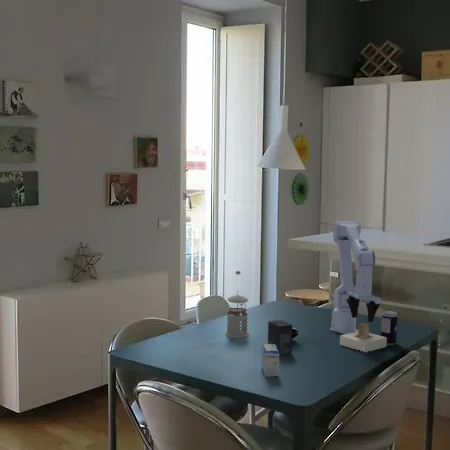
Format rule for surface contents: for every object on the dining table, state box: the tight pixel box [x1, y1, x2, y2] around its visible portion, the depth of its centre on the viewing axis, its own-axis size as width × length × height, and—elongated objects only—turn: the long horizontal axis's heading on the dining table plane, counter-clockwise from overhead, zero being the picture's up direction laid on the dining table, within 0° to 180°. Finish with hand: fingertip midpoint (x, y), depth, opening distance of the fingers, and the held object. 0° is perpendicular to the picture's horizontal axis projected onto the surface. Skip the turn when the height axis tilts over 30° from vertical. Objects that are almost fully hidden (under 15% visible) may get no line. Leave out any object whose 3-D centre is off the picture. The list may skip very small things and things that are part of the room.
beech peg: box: [357, 322, 370, 339], centre depth 259 cm, size 4×4×8 cm
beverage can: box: [380, 310, 399, 346], centre depth 262 cm, size 6×6×12 cm
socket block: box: [339, 332, 387, 353], centre depth 259 cm, size 12×12×4 cm
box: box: [267, 319, 293, 356], centre depth 250 cm, size 8×6×11 cm
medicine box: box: [261, 343, 280, 378], centre depth 226 cm, size 8×4×9 cm, turn 5°
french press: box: [224, 270, 250, 339], centre depth 272 cm, size 10×12×25 cm
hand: (362, 319), depth 258 cm, fingers open, 7 cm apart
